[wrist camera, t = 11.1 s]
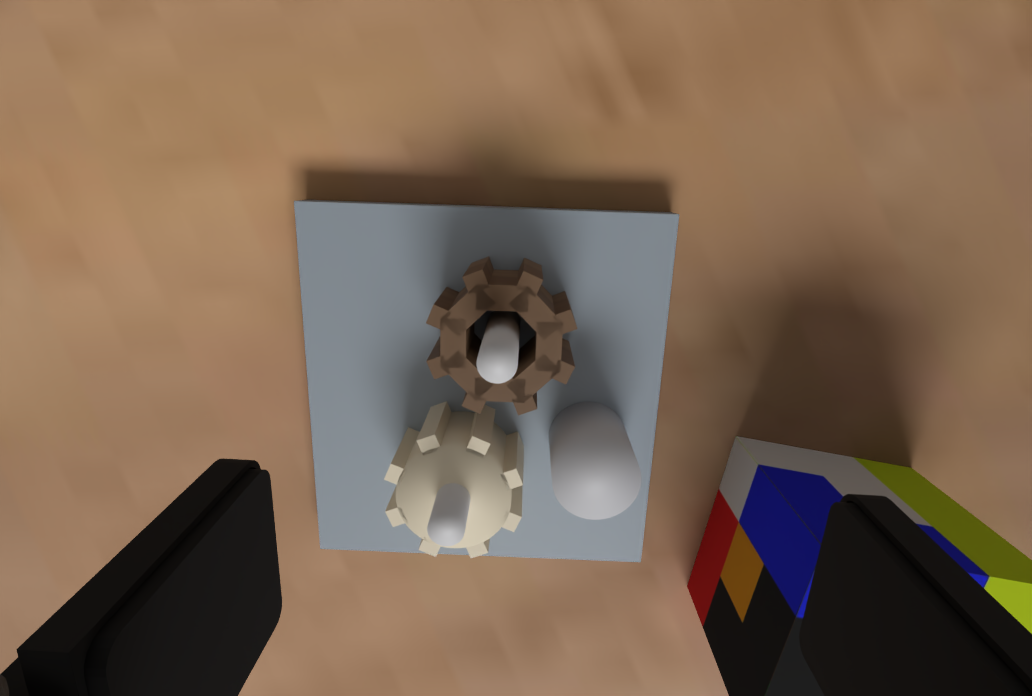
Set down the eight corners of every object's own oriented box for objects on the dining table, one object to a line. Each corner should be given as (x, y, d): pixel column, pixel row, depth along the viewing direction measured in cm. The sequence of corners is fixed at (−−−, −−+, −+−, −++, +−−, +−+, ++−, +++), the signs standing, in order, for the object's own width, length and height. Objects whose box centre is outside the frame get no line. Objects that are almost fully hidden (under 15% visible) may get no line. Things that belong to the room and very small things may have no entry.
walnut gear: (439, 254, 28) (424, 267, 24) (574, 259, 28) (581, 273, 24) (440, 381, 30) (426, 411, 26) (566, 385, 30) (571, 417, 26)
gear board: (305, 199, 29) (224, 209, 21) (671, 212, 28) (723, 226, 21) (329, 532, 34) (271, 637, 26) (636, 545, 34) (667, 654, 26)
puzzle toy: (735, 435, 32) (823, 547, 22) (910, 467, 32) (1071, 590, 23) (686, 585, 35) (746, 741, 25) (848, 613, 35) (967, 777, 26)
